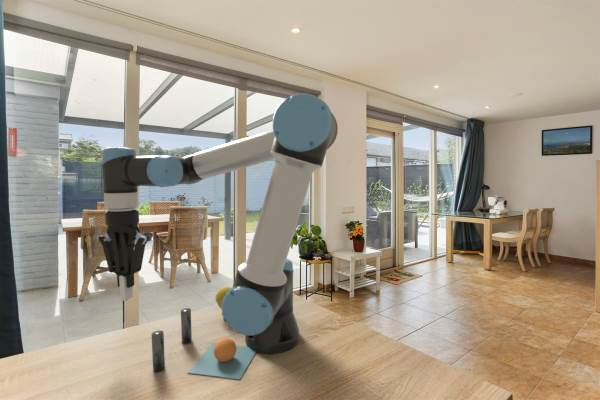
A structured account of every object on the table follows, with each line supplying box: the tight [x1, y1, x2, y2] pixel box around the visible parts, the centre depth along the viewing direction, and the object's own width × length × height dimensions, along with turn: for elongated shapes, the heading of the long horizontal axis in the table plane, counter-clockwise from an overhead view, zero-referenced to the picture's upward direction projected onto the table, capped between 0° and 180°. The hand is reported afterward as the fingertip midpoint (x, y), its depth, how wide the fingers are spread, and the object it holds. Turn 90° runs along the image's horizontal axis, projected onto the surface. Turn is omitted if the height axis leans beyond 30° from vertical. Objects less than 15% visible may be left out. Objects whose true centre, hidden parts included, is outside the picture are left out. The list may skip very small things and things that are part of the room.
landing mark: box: [187, 342, 257, 381], centre depth 80 cm, size 13×13×1 cm
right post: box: [180, 307, 193, 345], centre depth 88 cm, size 3×3×9 cm
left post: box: [150, 330, 166, 374], centre depth 76 cm, size 3×3×9 cm
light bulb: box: [215, 286, 232, 320], centre depth 103 cm, size 7×7×10 cm
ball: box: [214, 337, 237, 362], centre depth 80 cm, size 6×6×6 cm
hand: (126, 298), depth 83 cm, fingers closed
